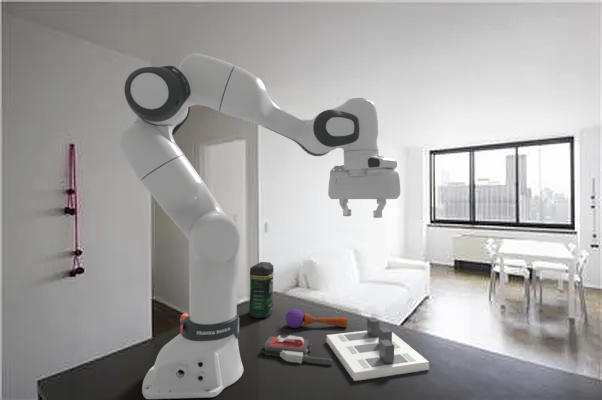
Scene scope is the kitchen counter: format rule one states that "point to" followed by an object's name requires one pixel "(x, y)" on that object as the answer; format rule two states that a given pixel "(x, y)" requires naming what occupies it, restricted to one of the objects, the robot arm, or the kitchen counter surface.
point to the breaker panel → (374, 356)
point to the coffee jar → (261, 290)
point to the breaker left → (373, 326)
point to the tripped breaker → (386, 351)
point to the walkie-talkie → (290, 349)
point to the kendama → (311, 319)
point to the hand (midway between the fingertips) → (361, 216)
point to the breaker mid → (385, 334)
